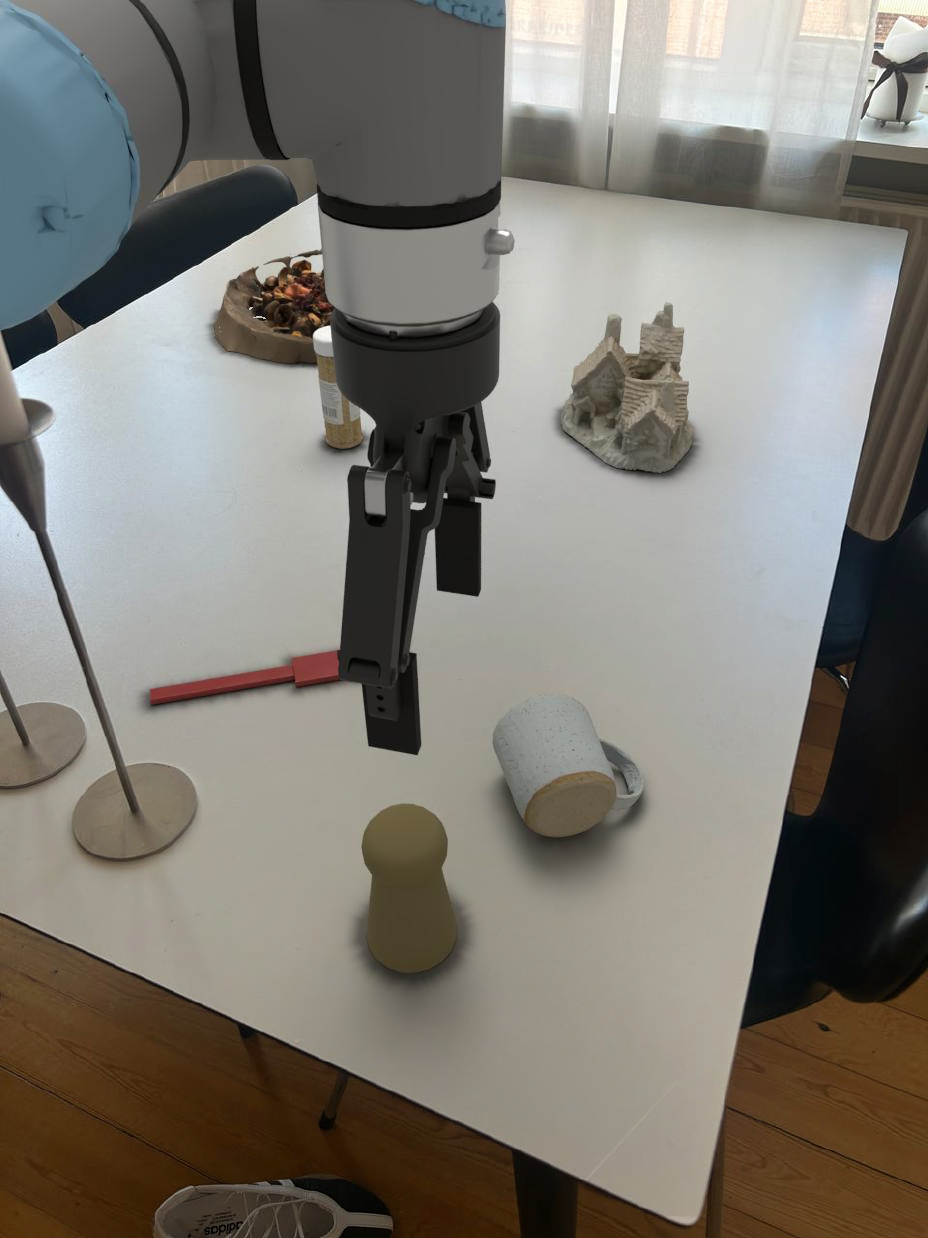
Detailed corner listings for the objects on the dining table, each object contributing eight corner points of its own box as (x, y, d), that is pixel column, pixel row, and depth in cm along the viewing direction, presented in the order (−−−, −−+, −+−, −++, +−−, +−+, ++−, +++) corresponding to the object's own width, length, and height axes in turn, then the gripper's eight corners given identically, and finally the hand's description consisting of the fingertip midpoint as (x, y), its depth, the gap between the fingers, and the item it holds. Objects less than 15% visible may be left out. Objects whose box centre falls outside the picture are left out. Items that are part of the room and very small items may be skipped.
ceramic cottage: (573, 392, 122) (585, 279, 112) (702, 418, 118) (726, 303, 108) (536, 459, 112) (544, 340, 102) (675, 490, 108) (699, 370, 97)
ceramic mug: (522, 855, 69) (528, 784, 64) (489, 770, 75) (492, 699, 70) (659, 824, 71) (675, 752, 66) (617, 744, 77) (628, 673, 72)
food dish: (438, 275, 157) (439, 226, 152) (466, 366, 133) (467, 312, 128) (219, 280, 153) (212, 230, 148) (205, 376, 128) (197, 319, 123)
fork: (151, 712, 80) (149, 707, 80) (151, 686, 82) (149, 681, 82) (399, 669, 84) (399, 664, 83) (393, 645, 86) (392, 640, 86)
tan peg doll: (347, 929, 64) (331, 825, 57) (417, 877, 67) (409, 772, 60) (405, 991, 61) (396, 889, 54) (476, 933, 64) (475, 829, 57)
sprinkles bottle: (370, 443, 114) (361, 334, 105) (336, 454, 112) (324, 344, 103) (351, 427, 117) (341, 320, 108) (318, 437, 115) (305, 329, 106)
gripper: (417, 454, 32) (434, 845, 46) (549, 218, 51) (534, 547, 64) (210, 429, 34) (287, 815, 47) (413, 208, 52) (426, 532, 66)
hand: (429, 661), depth 56 cm, fingers open, 13 cm apart
